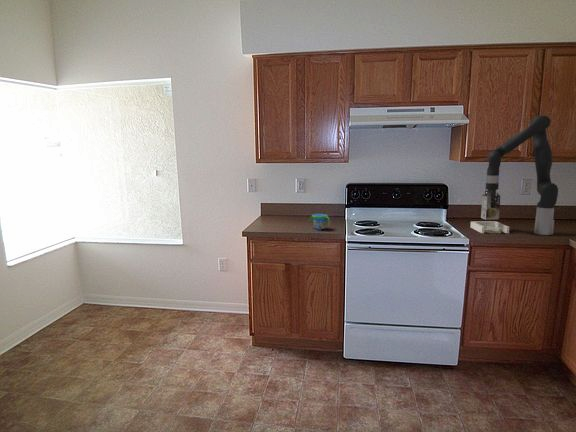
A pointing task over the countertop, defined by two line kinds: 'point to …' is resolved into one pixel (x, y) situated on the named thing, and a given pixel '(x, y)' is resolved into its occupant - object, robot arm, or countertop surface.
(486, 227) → the offcut top
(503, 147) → the robot arm
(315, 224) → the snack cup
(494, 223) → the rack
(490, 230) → the offcut middle
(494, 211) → the coffee box
